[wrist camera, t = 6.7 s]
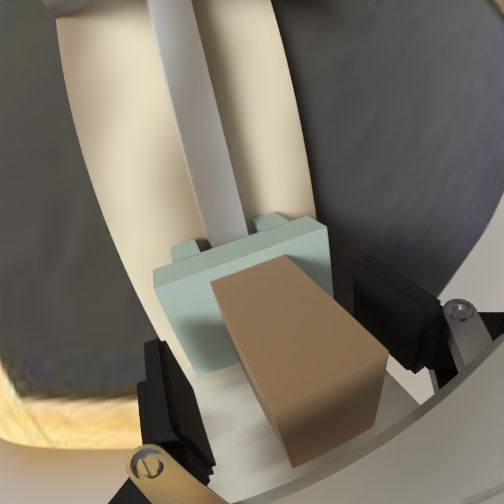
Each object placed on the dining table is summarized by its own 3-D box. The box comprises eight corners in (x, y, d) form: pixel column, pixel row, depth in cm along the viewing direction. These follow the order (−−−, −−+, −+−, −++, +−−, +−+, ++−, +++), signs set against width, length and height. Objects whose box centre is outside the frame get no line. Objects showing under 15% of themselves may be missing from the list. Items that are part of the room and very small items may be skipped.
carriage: (290, 206, 14) (444, 299, 6) (303, 289, 17) (414, 402, 8) (151, 254, 13) (174, 432, 5) (186, 334, 15) (237, 494, 7)
